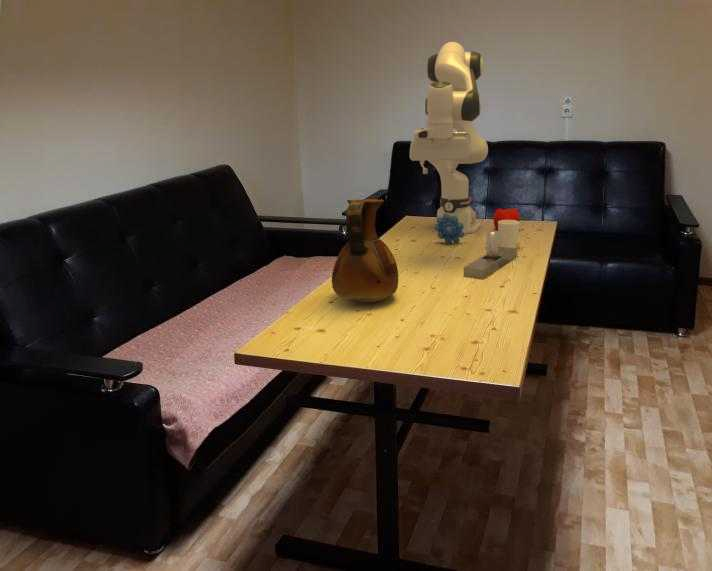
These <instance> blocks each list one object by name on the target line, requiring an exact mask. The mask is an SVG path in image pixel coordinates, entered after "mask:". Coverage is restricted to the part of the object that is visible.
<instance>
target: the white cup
mask: <svg viewBox="0 0 712 571" xmlns="http://www.w3.org/2000/svg"><path fill="white" fill-rule="evenodd" d="M497 231H498V232H499V238H498V247H508V248H516V249H518V248H517V247H518V241H519V240H518V239H519V232H520V221H515V220H501V221H498V229H497Z"/></svg>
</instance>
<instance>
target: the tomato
mask: <svg viewBox="0 0 712 571" xmlns="http://www.w3.org/2000/svg"><path fill="white" fill-rule="evenodd" d="M519 212H520V211H518V209H516V208H506V209H502V208H497V209H496V210H495V211H494V214H493V219H492V220H493V226H494V228H495V229H496V230H498V221H501V220H515V221H519V222H520V220H521V218H520V213H519Z"/></svg>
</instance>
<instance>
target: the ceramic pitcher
mask: <svg viewBox="0 0 712 571" xmlns="http://www.w3.org/2000/svg"><path fill="white" fill-rule="evenodd" d="M346 201H347V204H348V206H347V209H346V213H345V224H346V225H345V226H346V234H347V239H348V240H347V241H348V242H346V244H345V245H344V246H343V247H342V248H341V250H340V252H339V254H338V255H337V258H336V260H335V263H334V265H333V269H332V273H331V285H332V286H331V287H332V290H333V292H334V293H335V294H336V295H338V296H340V297H342V298H345V299H346V298H347V299H350V300H355V301H359V302H367V303H376V302H381V301H383V300H385V299H387V298H388V297H391V296H392V295H394V294H396V292H397V290H398V286H399V270H398V264H397V262H396V258H395V256H394V254H393V253H392V251H391V249H390V248H389V247H388V245H387V244H386V243H385V242H384V241H383V240H381V239H380V237H379V236H378V234H377V231H376V217H377V216H376V214H377V211H378V210H379V208H380V206H381V205H382V204H383V203H385V201H384V199H375V198H371V199H370V198H365V199H352V200H351V199H347V200H346Z"/></svg>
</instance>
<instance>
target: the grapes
mask: <svg viewBox="0 0 712 571" xmlns="http://www.w3.org/2000/svg"><path fill="white" fill-rule="evenodd" d="M436 223H438V224H436ZM436 223H435V224H434V225H433V229H434V228H435V229H434V230H435V231H436V232H437V237H438V238H439V239H440V240H443V239H444V242H445V243H446V244H448V245H450V244H451V243H452V242H453V243H454V244H458V243H459V242H460V241H461V240H460V239H462V238H464V237H465V233H464V232H463V231H462V229H463V228H464V225H463V224H462V223H461V222H458V218H457V216H451V217H450V215H449V214H447V213H445V214H444V215H443V218H442V217H437V216H436Z"/></svg>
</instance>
